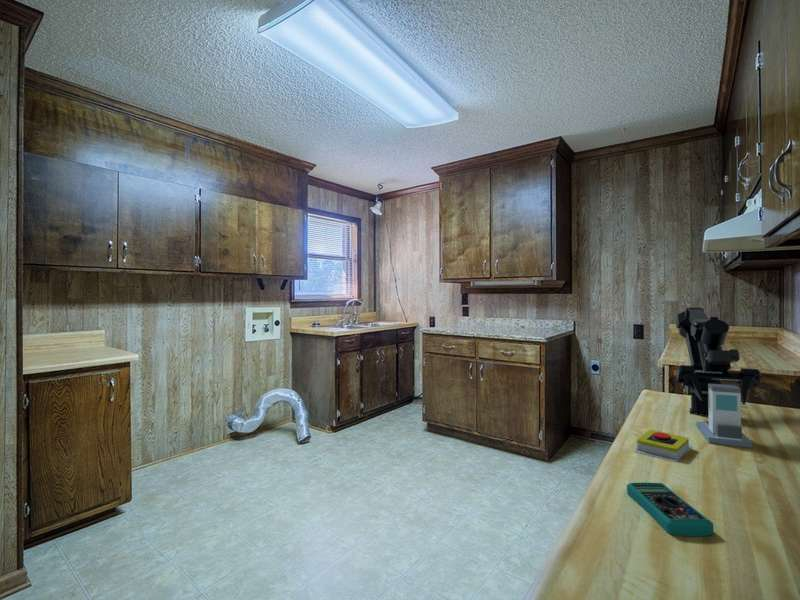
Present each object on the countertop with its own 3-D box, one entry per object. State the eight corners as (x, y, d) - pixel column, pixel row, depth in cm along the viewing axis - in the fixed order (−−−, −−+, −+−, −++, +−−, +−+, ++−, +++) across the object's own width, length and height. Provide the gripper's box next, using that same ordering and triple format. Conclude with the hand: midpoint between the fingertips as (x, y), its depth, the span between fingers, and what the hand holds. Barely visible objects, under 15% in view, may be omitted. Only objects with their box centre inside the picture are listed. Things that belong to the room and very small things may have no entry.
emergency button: (632, 436, 102) (651, 423, 112) (633, 453, 102) (652, 439, 113) (676, 446, 96) (692, 431, 106) (676, 464, 96) (692, 447, 106)
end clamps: (708, 425, 116) (708, 415, 116) (730, 427, 113) (730, 417, 113) (717, 436, 107) (717, 425, 107) (742, 439, 105) (741, 427, 105)
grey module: (708, 428, 113) (708, 383, 113) (735, 430, 111) (735, 385, 111) (713, 433, 109) (712, 386, 109) (741, 436, 107) (740, 388, 107)
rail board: (696, 426, 121) (696, 421, 121) (734, 430, 117) (734, 424, 117) (708, 442, 108) (708, 437, 108) (752, 447, 104) (752, 441, 104)
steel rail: (704, 421, 120) (704, 420, 120) (725, 424, 118) (725, 422, 118) (717, 438, 107) (717, 436, 107) (742, 440, 105) (742, 439, 104)
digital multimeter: (670, 539, 67) (670, 521, 67) (625, 494, 82) (625, 480, 81) (717, 540, 66) (717, 522, 66) (663, 495, 81) (663, 480, 81)
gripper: (677, 337, 120) (685, 382, 110) (759, 339, 112) (775, 388, 102) (673, 360, 127) (680, 404, 117) (749, 363, 119) (764, 411, 109)
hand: (722, 402), depth 111 cm, fingers open, 9 cm apart
